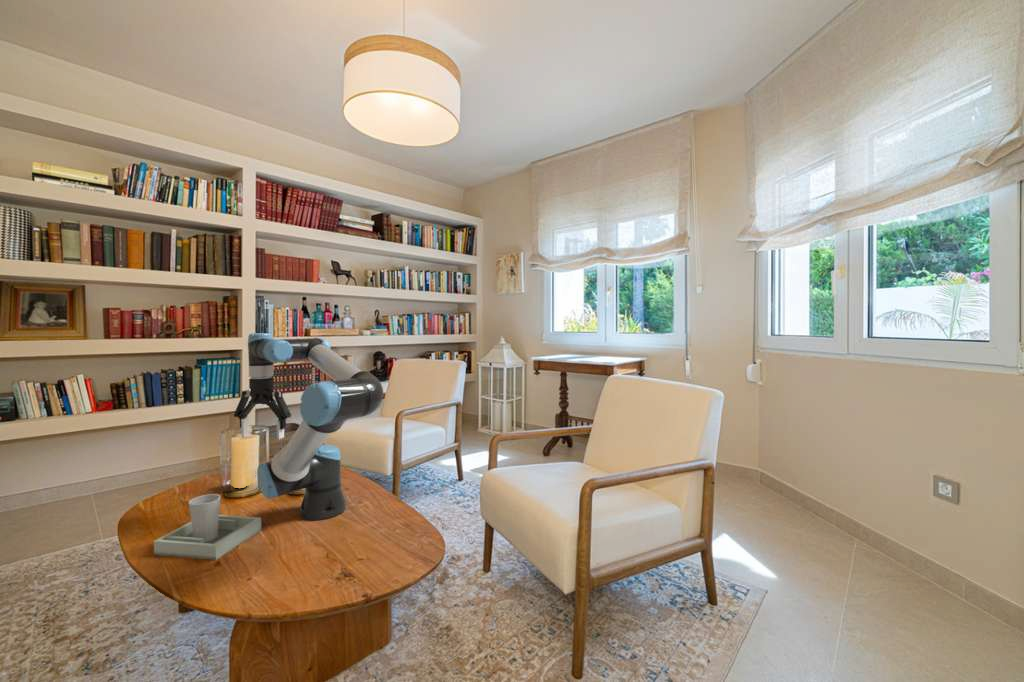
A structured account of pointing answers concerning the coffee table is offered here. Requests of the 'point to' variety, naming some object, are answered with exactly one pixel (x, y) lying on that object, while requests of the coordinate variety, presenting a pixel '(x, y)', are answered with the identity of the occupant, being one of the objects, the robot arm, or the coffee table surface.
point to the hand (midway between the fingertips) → (263, 437)
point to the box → (229, 537)
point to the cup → (205, 516)
